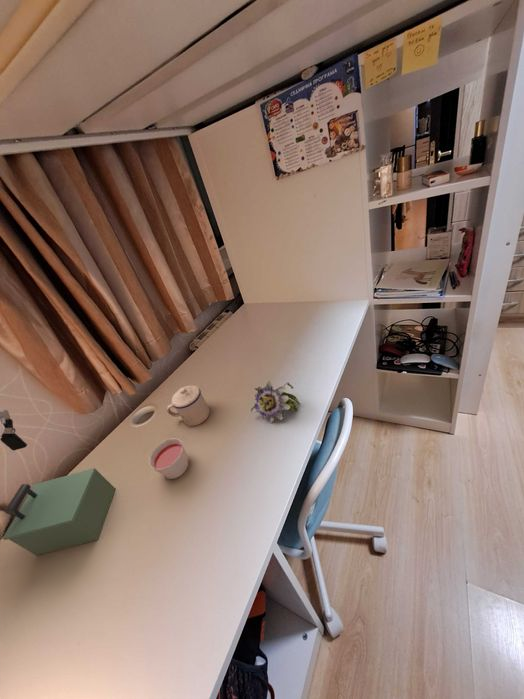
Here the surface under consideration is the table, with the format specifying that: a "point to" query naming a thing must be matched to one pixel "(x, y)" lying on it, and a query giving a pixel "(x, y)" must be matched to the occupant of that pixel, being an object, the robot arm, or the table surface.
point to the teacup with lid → (189, 405)
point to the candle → (169, 458)
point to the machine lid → (48, 503)
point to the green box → (82, 527)
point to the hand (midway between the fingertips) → (6, 467)
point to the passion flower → (273, 401)
